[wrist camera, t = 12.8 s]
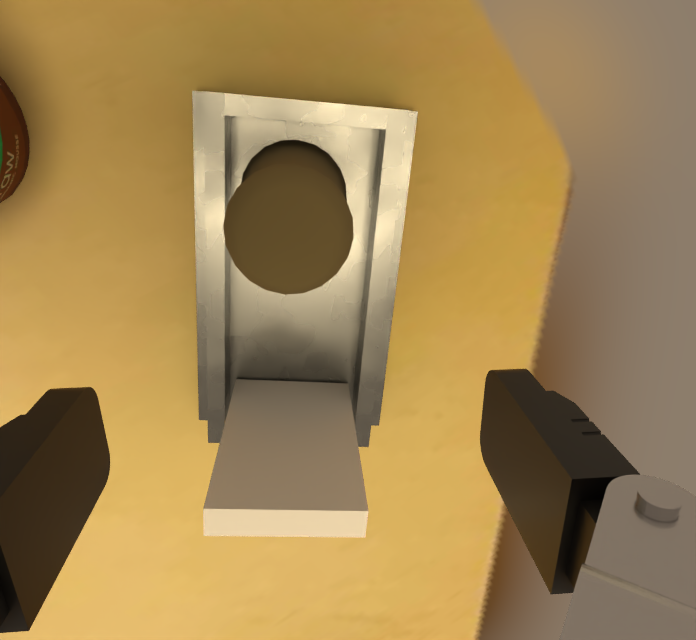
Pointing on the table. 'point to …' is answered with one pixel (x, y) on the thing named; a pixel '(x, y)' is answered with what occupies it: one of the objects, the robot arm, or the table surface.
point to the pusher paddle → (287, 464)
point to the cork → (289, 219)
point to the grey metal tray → (318, 304)
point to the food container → (11, 143)
